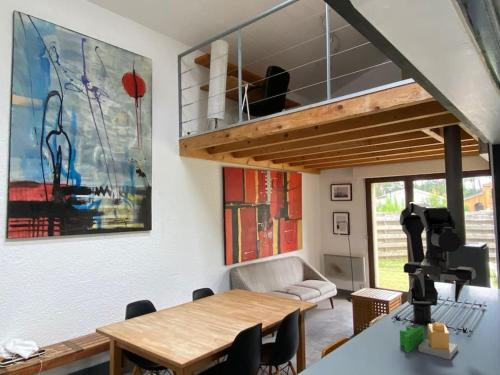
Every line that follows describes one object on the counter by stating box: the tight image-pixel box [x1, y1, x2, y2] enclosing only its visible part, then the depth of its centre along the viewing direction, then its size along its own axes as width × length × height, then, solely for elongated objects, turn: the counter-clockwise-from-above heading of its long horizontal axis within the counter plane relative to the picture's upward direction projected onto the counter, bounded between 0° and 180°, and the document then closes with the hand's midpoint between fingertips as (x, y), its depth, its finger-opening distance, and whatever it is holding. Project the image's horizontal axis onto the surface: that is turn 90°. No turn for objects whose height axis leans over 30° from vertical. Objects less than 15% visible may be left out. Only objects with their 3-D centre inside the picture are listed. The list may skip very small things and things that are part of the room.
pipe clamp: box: [399, 325, 425, 353], centre depth 103 cm, size 11×4×5 cm, turn 132°
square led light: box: [427, 321, 450, 349], centre depth 98 cm, size 4×4×6 cm
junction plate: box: [418, 337, 459, 360], centre depth 98 cm, size 9×8×5 cm
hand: (439, 298), depth 104 cm, fingers open, 9 cm apart
